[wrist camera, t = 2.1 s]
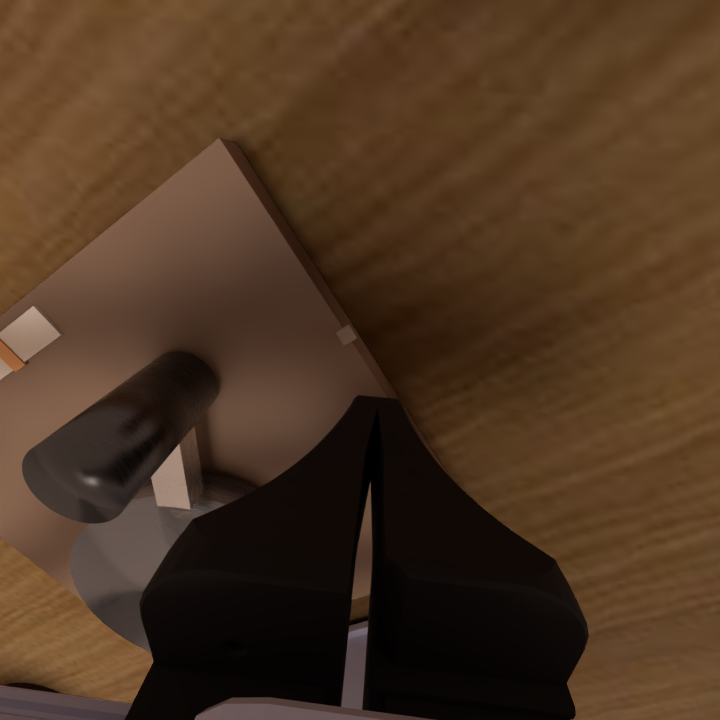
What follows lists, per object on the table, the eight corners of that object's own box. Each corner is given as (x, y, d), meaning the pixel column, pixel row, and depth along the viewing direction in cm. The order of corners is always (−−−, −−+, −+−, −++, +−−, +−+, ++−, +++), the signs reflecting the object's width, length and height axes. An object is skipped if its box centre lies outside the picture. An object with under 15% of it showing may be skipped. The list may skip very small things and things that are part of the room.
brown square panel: (490, 531, 17) (498, 558, 16) (170, 637, 23) (157, 664, 21) (242, 137, 11) (223, 131, 10) (-104, 413, 17) (-144, 431, 16)
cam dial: (318, 638, 19) (295, 781, 14) (125, 613, 19) (44, 744, 15) (327, 364, 12) (288, 467, 8) (37, 338, 13) (-156, 419, 8)
